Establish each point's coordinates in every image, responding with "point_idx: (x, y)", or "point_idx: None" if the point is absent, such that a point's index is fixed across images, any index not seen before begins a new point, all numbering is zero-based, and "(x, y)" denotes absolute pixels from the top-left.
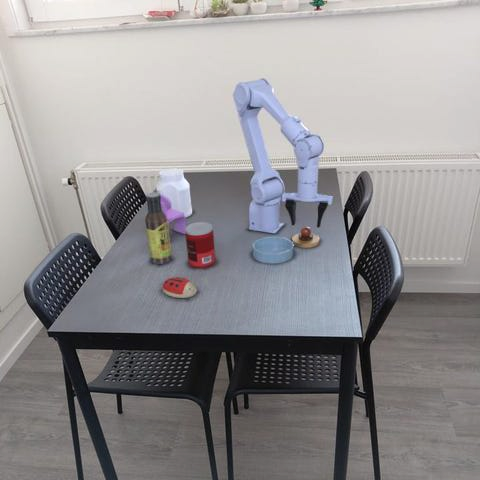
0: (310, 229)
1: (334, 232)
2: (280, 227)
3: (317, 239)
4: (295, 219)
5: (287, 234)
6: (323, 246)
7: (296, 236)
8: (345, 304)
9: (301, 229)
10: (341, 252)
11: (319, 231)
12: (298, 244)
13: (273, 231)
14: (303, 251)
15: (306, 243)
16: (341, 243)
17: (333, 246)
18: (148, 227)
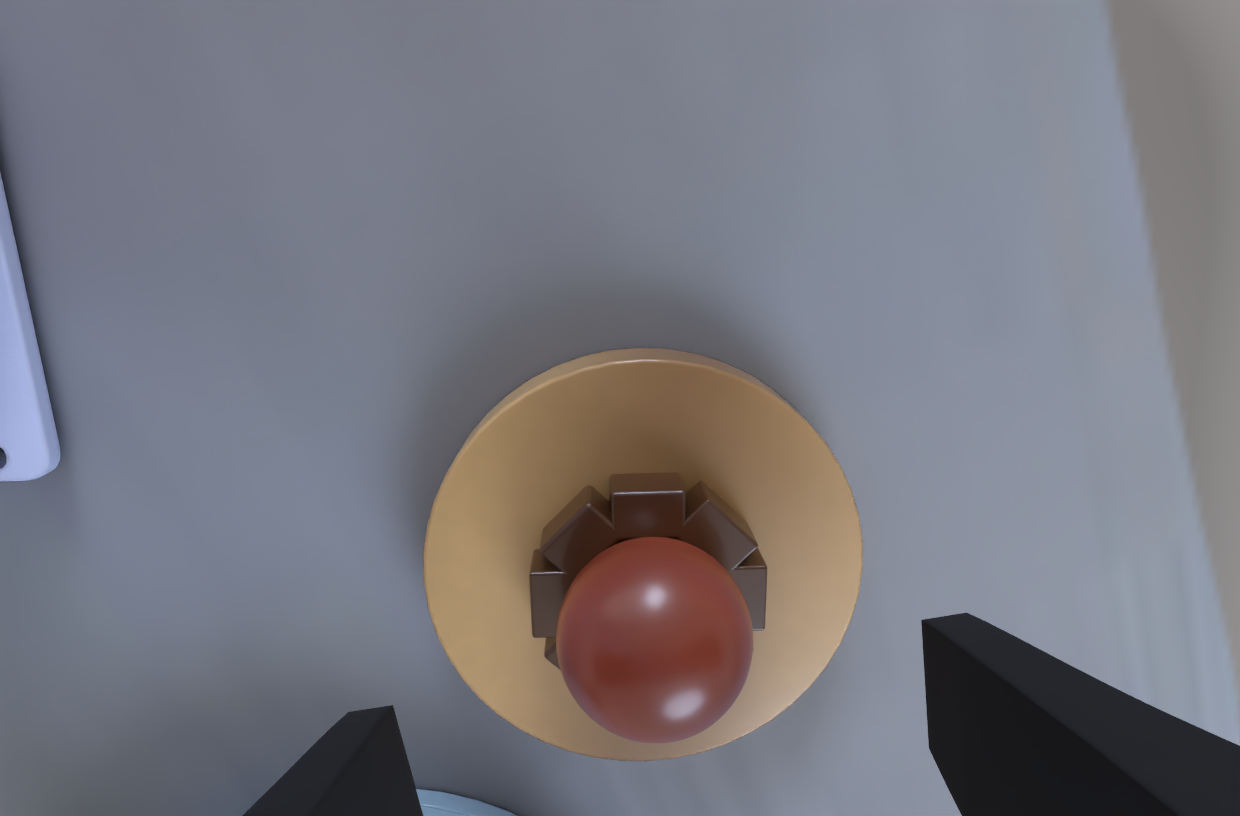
0: (741, 631)
1: (990, 12)
2: (3, 226)
3: (837, 550)
4: (367, 770)
5: (263, 399)
6: (928, 585)
7: (481, 567)
8: None
9: (577, 697)
10: (1192, 658)
11: (722, 70)
12: (607, 747)
13: (2, 446)
14: (715, 802)
15: (720, 728)
16: (1163, 401)
17: (1063, 535)
18: None
